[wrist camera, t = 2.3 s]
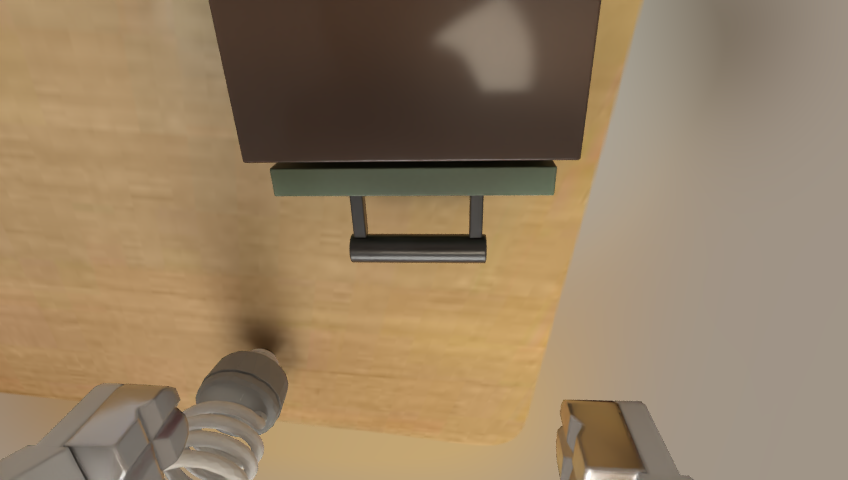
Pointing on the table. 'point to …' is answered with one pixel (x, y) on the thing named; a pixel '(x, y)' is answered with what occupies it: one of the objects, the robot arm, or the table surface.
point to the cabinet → (407, 78)
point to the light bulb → (232, 417)
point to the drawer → (415, 182)
